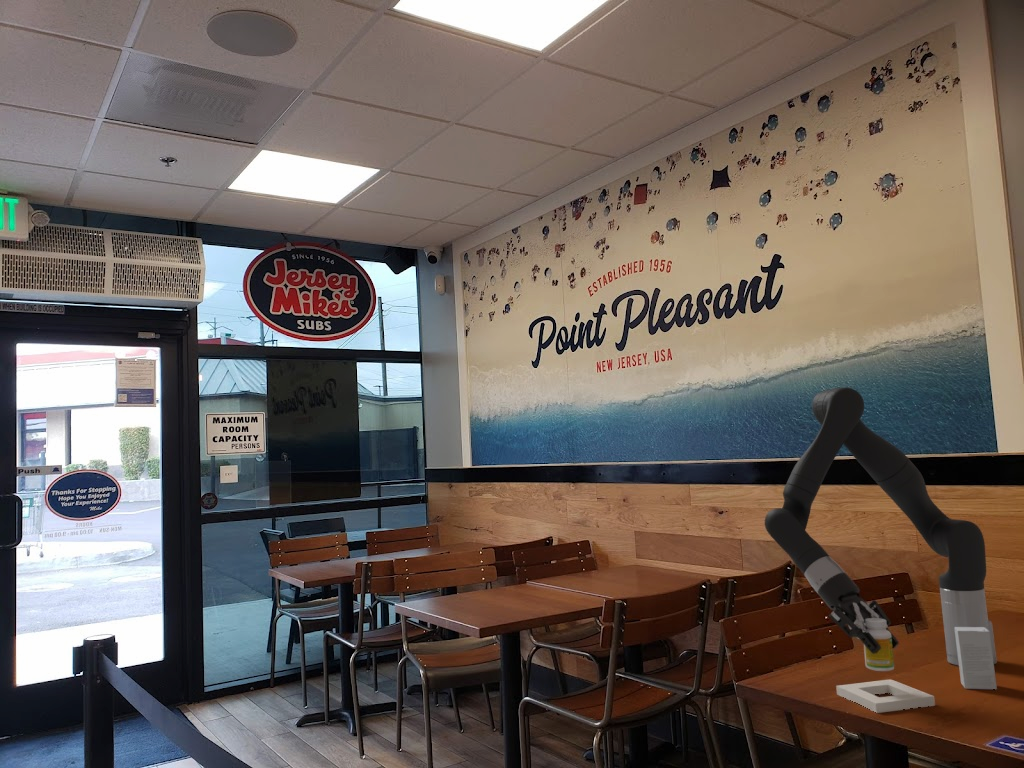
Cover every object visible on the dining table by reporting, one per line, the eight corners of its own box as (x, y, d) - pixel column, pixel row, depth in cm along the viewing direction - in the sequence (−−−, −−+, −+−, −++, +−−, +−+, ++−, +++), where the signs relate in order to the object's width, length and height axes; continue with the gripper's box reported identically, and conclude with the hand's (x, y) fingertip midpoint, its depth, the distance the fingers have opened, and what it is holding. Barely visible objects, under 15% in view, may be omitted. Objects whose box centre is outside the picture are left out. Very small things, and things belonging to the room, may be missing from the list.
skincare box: (992, 684, 166) (985, 626, 167) (997, 690, 161) (990, 631, 163) (959, 683, 167) (953, 626, 169) (964, 689, 163) (957, 630, 165)
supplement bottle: (897, 671, 157) (893, 622, 158) (869, 671, 158) (864, 622, 159) (890, 664, 162) (886, 617, 163) (862, 664, 163) (858, 617, 164)
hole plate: (891, 688, 167) (890, 679, 167) (935, 705, 154) (934, 696, 154) (837, 694, 164) (836, 685, 164) (876, 713, 152) (875, 703, 152)
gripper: (818, 575, 164) (875, 643, 153) (861, 567, 172) (918, 632, 160) (800, 597, 168) (854, 665, 157) (842, 589, 176) (897, 654, 164)
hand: (886, 648), depth 159 cm, fingers closed on supplement bottle, 5 cm apart
